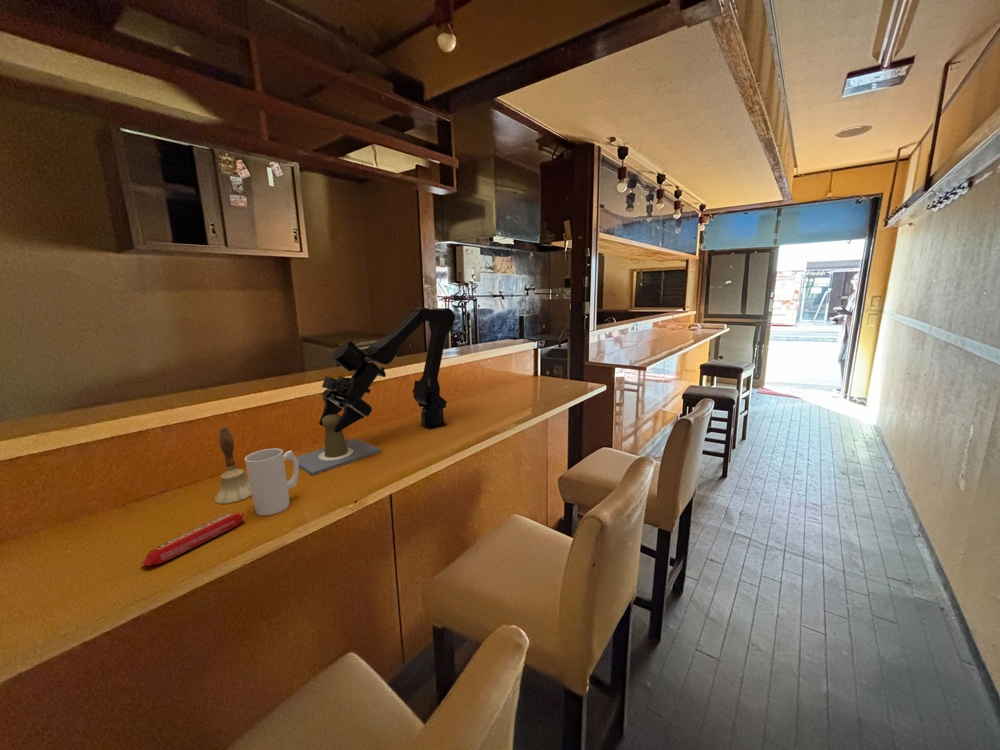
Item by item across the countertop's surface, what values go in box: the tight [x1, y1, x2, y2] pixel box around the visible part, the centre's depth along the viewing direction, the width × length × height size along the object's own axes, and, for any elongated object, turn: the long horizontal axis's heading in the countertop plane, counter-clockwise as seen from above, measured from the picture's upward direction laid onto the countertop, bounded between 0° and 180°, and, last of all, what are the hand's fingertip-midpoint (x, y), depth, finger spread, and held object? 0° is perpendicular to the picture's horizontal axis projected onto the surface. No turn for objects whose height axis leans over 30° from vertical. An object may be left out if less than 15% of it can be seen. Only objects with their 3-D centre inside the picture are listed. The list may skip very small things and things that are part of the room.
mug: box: [244, 447, 300, 517], centre depth 84 cm, size 10×7×12 cm, turn 147°
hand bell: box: [213, 426, 252, 505], centre depth 89 cm, size 8×8×16 cm
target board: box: [289, 438, 381, 476], centre depth 110 cm, size 19×14×1 cm
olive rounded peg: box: [322, 413, 348, 458], centre depth 109 cm, size 6×6×11 cm
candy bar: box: [140, 512, 246, 566], centre depth 73 cm, size 16×4×3 cm, turn 152°
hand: (327, 428), depth 108 cm, fingers open, 9 cm apart
